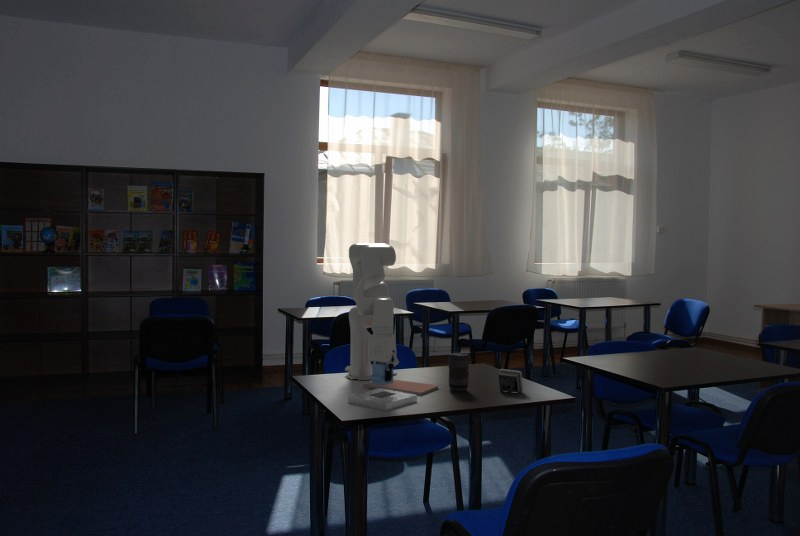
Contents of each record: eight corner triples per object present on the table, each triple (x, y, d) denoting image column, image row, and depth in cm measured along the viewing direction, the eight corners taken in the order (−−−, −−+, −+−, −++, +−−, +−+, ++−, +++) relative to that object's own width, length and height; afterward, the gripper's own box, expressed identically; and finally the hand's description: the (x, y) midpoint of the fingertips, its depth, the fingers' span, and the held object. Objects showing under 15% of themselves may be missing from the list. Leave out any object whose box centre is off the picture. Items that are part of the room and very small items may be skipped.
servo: (377, 386, 232) (377, 363, 232) (368, 384, 235) (368, 362, 235) (396, 382, 241) (396, 360, 241) (387, 380, 244) (387, 358, 244)
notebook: (361, 389, 261) (361, 384, 261) (382, 382, 276) (382, 377, 276) (419, 397, 247) (419, 392, 247) (439, 389, 262) (439, 384, 262)
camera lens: (457, 388, 263) (457, 351, 262) (472, 391, 257) (473, 354, 257) (444, 391, 257) (444, 353, 257) (459, 394, 251) (460, 356, 251)
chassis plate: (348, 402, 236) (348, 395, 236) (379, 394, 250) (380, 388, 250) (385, 410, 225) (385, 403, 225) (416, 401, 239) (416, 394, 239)
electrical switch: (523, 392, 256) (523, 370, 255) (519, 396, 252) (518, 373, 250) (501, 390, 261) (501, 367, 260) (496, 393, 256) (496, 370, 255)
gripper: (359, 330, 240) (359, 378, 240) (394, 333, 230) (394, 384, 230) (372, 328, 246) (372, 376, 246) (407, 332, 236) (407, 381, 236)
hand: (382, 379), depth 238 cm, fingers closed on servo, 4 cm apart
